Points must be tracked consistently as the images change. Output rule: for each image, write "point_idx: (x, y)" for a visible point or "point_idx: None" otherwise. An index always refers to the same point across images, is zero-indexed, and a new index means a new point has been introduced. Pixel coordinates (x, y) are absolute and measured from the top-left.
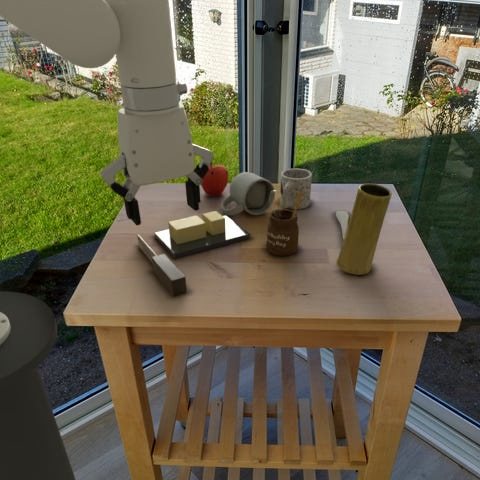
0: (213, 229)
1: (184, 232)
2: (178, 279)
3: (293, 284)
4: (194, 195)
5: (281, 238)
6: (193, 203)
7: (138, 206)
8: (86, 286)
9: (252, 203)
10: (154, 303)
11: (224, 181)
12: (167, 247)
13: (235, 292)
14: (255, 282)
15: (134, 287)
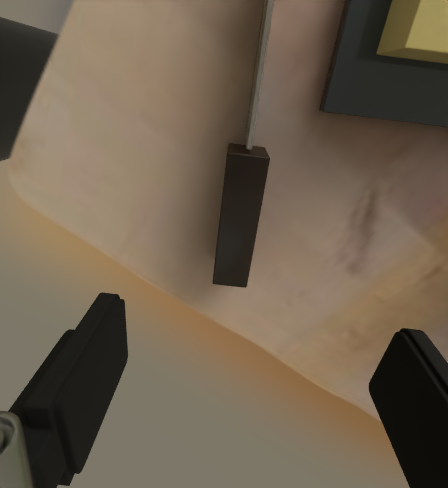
0: None
1: (427, 53)
2: (228, 285)
3: None
4: (404, 463)
5: None
6: (383, 411)
7: (94, 439)
8: (44, 98)
9: None
10: (171, 259)
11: None
12: (338, 43)
13: (319, 312)
14: (374, 309)
15: (157, 181)
